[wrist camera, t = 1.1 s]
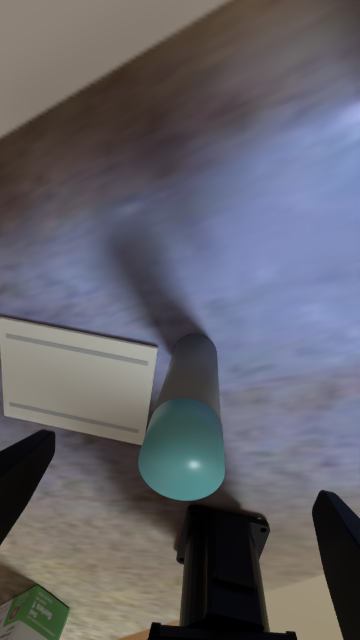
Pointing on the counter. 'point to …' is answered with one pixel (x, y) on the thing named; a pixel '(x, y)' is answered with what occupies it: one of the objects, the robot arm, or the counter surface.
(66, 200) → the counter surface
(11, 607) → the ink box
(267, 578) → the counter surface
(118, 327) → the counter surface
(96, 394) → the paper
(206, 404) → the marker
